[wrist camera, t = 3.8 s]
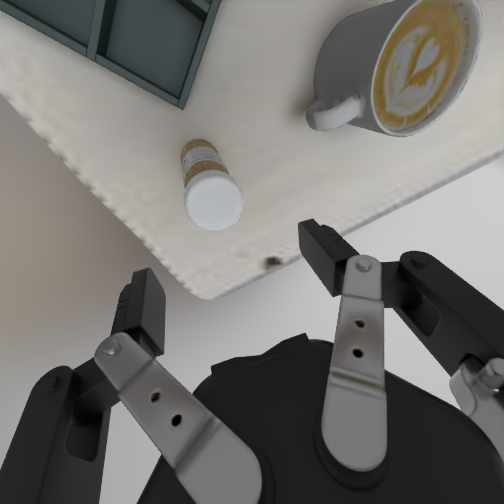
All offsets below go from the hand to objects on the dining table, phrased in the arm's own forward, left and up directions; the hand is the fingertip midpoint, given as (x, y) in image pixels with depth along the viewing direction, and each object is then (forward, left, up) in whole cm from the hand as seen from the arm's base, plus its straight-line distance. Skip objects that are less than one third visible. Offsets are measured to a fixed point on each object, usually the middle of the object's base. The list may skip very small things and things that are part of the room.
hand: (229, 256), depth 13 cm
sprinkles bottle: (0, 0, -20) cm, 20 cm away
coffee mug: (-11, -15, -20) cm, 28 cm away
